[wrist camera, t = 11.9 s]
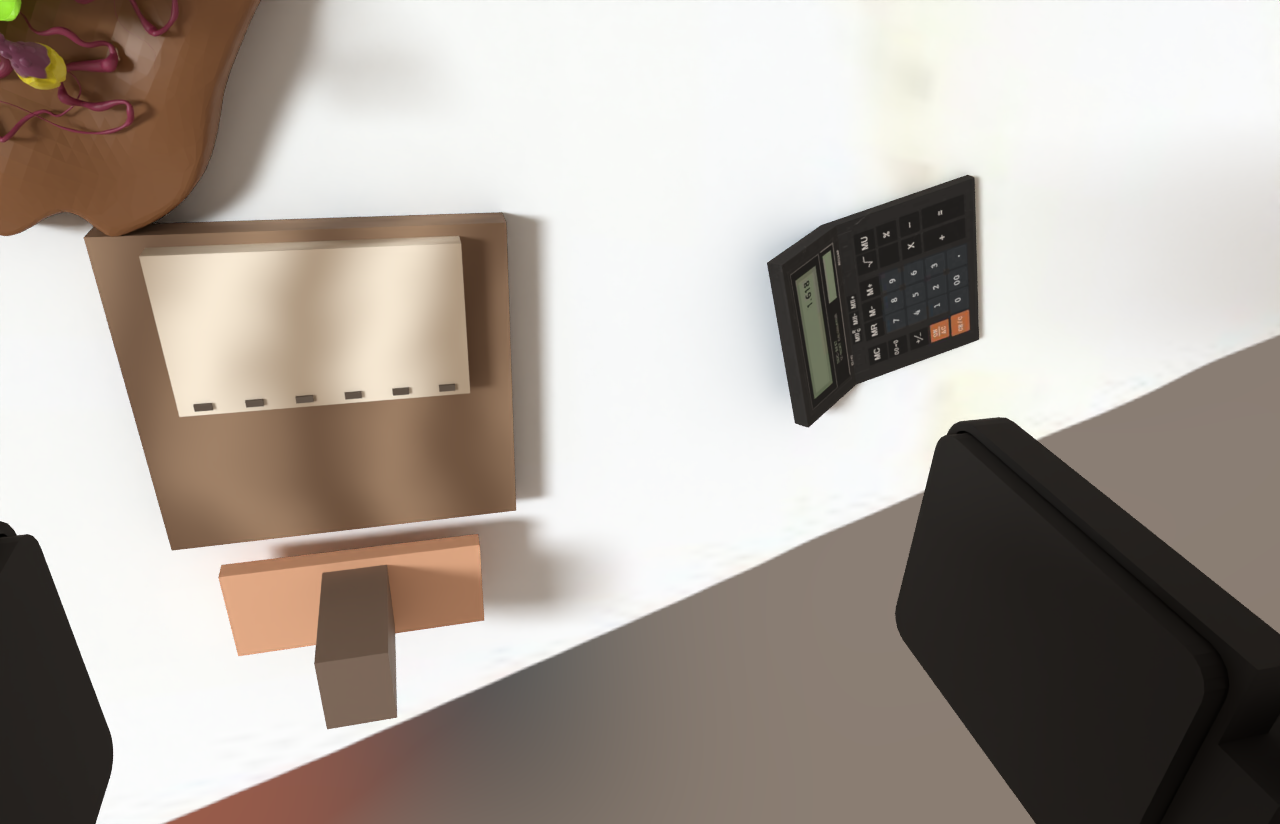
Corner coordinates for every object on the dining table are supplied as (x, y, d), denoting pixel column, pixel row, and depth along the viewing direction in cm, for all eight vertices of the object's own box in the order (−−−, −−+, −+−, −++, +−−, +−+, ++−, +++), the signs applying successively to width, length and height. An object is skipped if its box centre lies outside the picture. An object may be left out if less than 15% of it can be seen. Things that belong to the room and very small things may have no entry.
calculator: (969, 333, 48) (1002, 356, 46) (778, 402, 47) (800, 430, 45) (964, 173, 43) (1000, 189, 41) (749, 247, 42) (773, 268, 40)
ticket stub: (478, 534, 44) (493, 628, 38) (482, 608, 46) (497, 708, 40) (221, 565, 41) (195, 672, 35) (240, 643, 43) (219, 755, 37)
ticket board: (502, 212, 38) (509, 230, 36) (512, 493, 45) (519, 523, 43) (94, 225, 34) (75, 247, 32) (178, 531, 41) (167, 565, 39)
